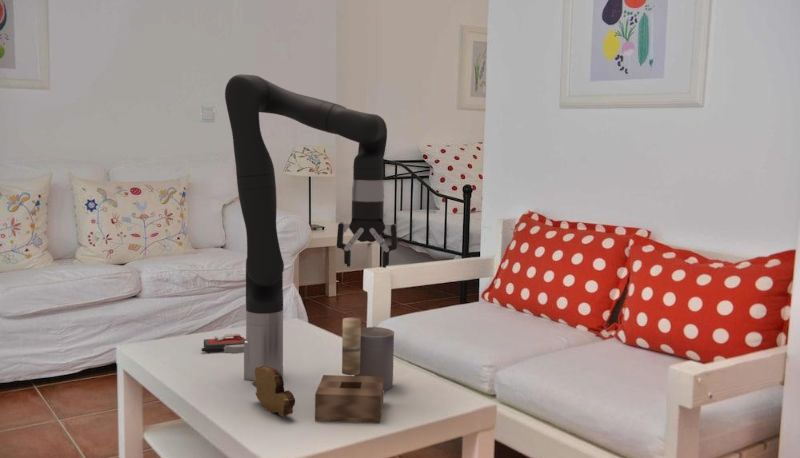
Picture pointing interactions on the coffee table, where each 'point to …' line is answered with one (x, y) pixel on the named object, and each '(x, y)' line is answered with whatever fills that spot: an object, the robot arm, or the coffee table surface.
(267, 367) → the wooden carving
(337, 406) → the socket block
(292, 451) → the coffee table surface
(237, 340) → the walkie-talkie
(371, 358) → the pillar candle
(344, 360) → the peg
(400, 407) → the coffee table surface
